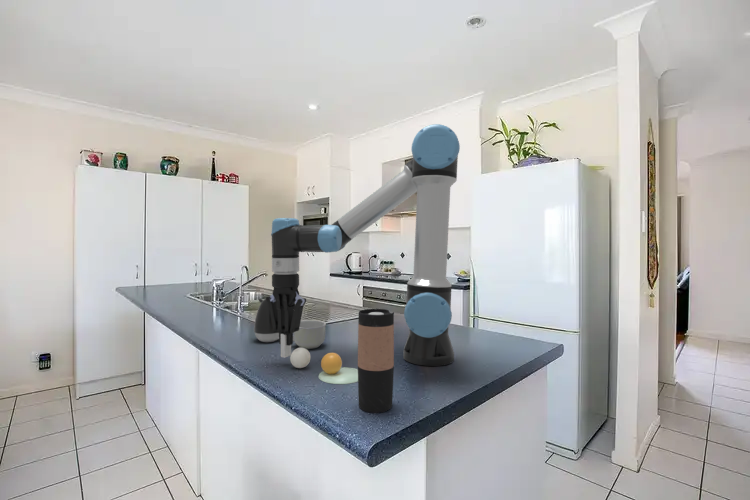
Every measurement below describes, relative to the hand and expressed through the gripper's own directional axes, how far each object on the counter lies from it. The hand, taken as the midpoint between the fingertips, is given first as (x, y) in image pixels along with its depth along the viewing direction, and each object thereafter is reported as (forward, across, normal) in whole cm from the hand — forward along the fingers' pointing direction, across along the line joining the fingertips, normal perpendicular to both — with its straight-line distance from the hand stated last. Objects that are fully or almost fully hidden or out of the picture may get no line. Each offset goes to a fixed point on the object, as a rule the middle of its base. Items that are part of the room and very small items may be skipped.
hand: (286, 356), depth 106 cm
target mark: (+3, +19, 0) cm, 19 cm away
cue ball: (0, +5, 0) cm, 5 cm away
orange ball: (0, +16, 0) cm, 16 cm away
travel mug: (+3, +35, -12) cm, 37 cm away
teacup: (+3, -7, +18) cm, 20 cm away
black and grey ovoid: (+3, -23, +18) cm, 29 cm away
